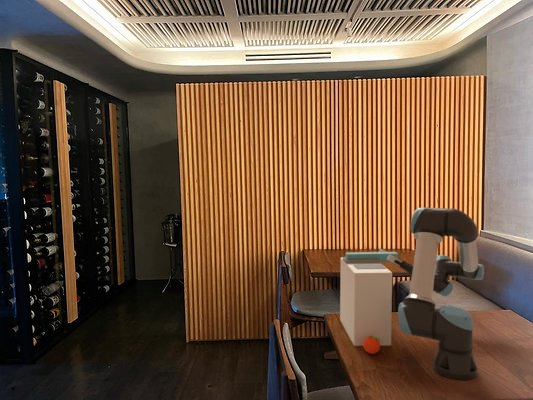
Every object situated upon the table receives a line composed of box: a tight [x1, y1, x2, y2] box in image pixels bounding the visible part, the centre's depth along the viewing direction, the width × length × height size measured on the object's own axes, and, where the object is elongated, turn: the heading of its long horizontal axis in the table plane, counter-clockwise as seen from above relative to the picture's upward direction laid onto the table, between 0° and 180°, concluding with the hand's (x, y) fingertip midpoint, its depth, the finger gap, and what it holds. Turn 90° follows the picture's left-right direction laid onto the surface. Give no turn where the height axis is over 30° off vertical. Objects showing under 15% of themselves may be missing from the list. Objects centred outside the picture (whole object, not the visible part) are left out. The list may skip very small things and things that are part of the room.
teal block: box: [345, 251, 399, 263], centre depth 192 cm, size 24×4×4 cm, turn 91°
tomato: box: [362, 336, 381, 355], centre depth 167 cm, size 8×7×7 cm
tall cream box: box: [339, 256, 393, 347], centre depth 188 cm, size 16×30×34 cm, turn 1°
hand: (383, 253), depth 192 cm, fingers open, 13 cm apart
